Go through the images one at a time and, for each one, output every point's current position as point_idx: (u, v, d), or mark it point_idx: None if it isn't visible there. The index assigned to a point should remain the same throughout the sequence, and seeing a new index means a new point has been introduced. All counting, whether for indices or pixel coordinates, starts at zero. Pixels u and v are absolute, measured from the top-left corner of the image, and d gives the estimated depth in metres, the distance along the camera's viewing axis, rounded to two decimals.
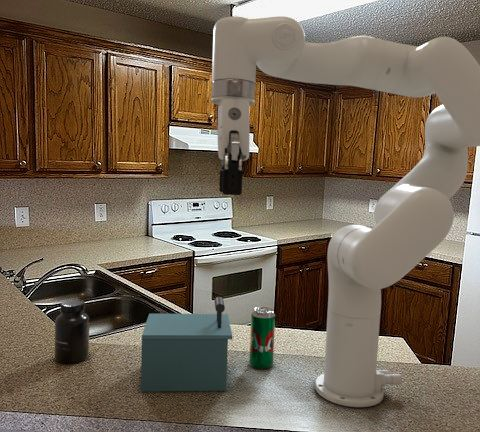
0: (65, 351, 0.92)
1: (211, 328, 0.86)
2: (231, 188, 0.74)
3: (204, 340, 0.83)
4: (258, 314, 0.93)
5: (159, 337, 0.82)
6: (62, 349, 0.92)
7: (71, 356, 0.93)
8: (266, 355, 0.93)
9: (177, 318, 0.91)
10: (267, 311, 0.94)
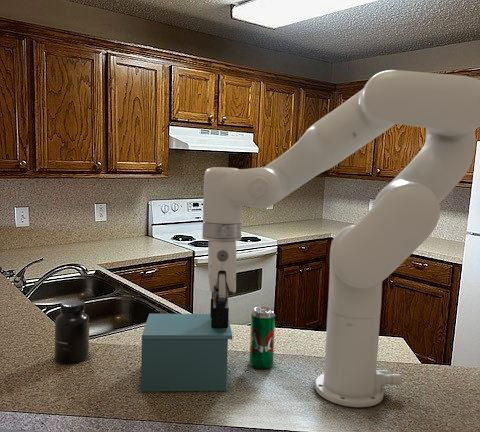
0: (65, 351, 0.92)
1: (211, 328, 0.86)
2: (219, 324, 0.85)
3: (204, 340, 0.83)
4: (258, 314, 0.93)
5: (159, 337, 0.82)
6: (62, 349, 0.92)
7: (71, 356, 0.93)
8: (266, 355, 0.93)
9: (177, 318, 0.91)
10: (267, 311, 0.94)
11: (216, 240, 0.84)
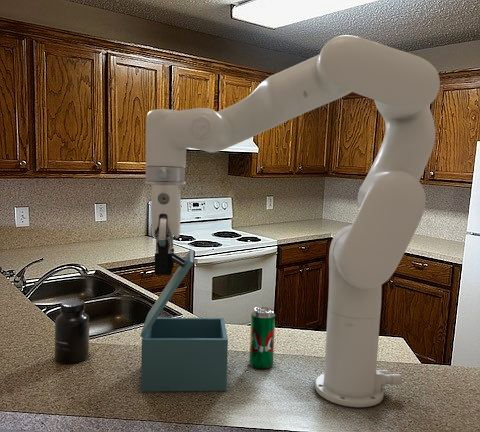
0: (65, 351, 0.92)
1: (178, 274, 0.84)
2: (162, 270, 0.83)
3: (204, 340, 0.83)
4: (258, 314, 0.93)
5: (151, 322, 0.81)
6: (62, 349, 0.92)
7: (71, 356, 0.93)
8: (266, 355, 0.93)
9: (162, 294, 0.91)
10: (267, 311, 0.94)
11: (157, 183, 0.82)
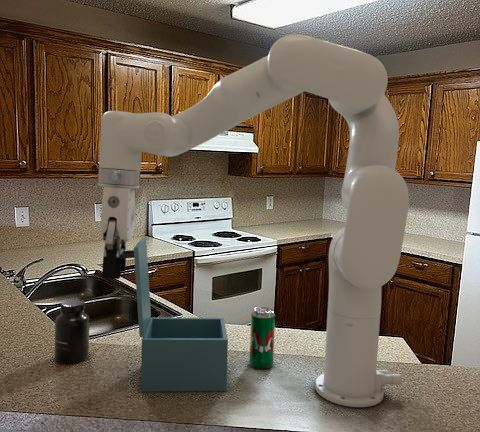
0: (65, 351, 0.92)
1: None
2: (109, 273, 0.82)
3: (204, 340, 0.83)
4: (258, 314, 0.93)
5: (140, 320, 0.81)
6: (62, 349, 0.92)
7: (71, 356, 0.93)
8: (266, 355, 0.93)
9: None
10: (267, 311, 0.94)
11: (108, 186, 0.81)
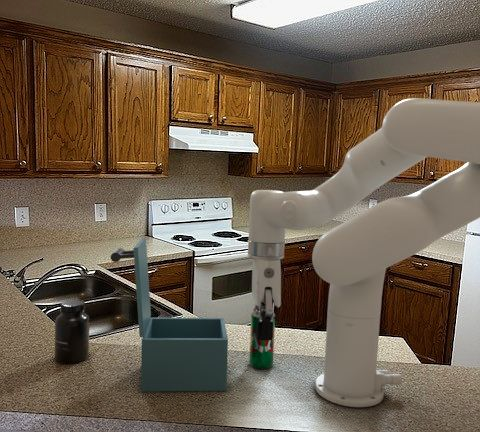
0: (65, 351, 0.92)
1: None
2: (264, 336, 0.91)
3: (204, 340, 0.83)
4: (258, 314, 0.93)
5: (140, 320, 0.81)
6: (62, 349, 0.92)
7: (71, 356, 0.93)
8: (266, 355, 0.93)
9: None
10: None
11: (262, 258, 0.90)
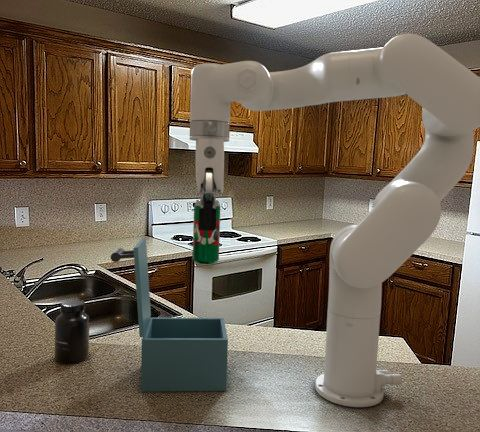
0: (65, 351, 0.92)
1: None
2: (206, 225, 0.83)
3: (204, 340, 0.83)
4: (200, 203, 0.85)
5: (140, 320, 0.81)
6: (62, 349, 0.92)
7: (71, 356, 0.93)
8: (209, 248, 0.85)
9: None
10: None
11: (203, 137, 0.82)
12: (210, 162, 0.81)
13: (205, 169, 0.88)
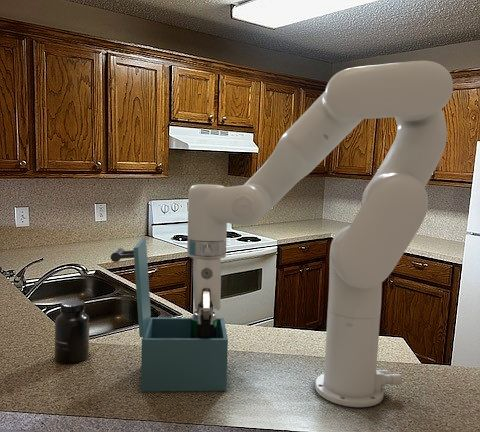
0: (65, 351, 0.92)
1: None
2: None
3: (204, 340, 0.83)
4: (197, 317, 0.87)
5: (140, 320, 0.81)
6: (62, 349, 0.92)
7: (71, 356, 0.93)
8: None
9: None
10: None
11: (200, 257, 0.84)
12: (207, 283, 0.83)
13: None
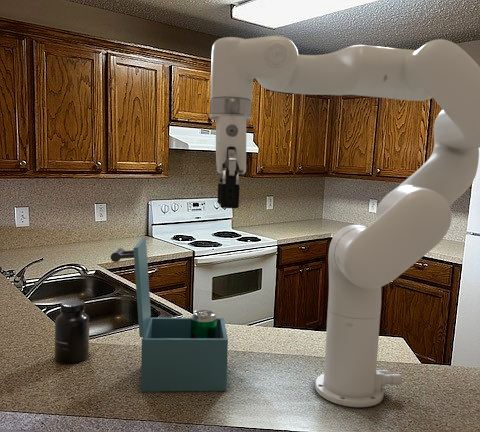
0: (65, 351, 0.92)
1: None
2: (228, 202, 0.77)
3: (204, 340, 0.83)
4: (197, 317, 0.87)
5: (140, 320, 0.81)
6: (62, 349, 0.92)
7: (71, 356, 0.93)
8: None
9: None
10: (207, 314, 0.88)
11: (225, 115, 0.78)
12: (232, 141, 0.77)
13: None
